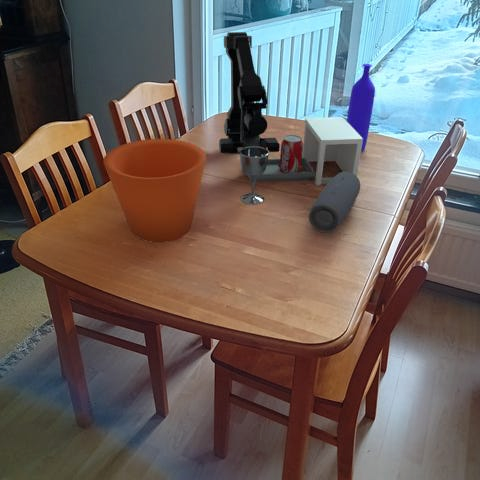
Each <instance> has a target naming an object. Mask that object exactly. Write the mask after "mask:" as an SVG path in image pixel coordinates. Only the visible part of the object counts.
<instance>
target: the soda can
mask: <svg viewBox="0 0 480 480" xmlns="http://www.w3.org/2000/svg"><path fill="white" fill-rule="evenodd" d="M303 142H304V141H303V138H302V137H301V136H299V135H295V134H288V135H284V137H283V140H282V141H281V143H280V144H281V145H280V155H279V159H280V167H279V169H280V171H281V173H295V172H301V170H302V166H301V163H302V153H303Z"/></svg>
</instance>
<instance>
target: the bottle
mask: <svg viewBox="0 0 480 480" xmlns="http://www.w3.org/2000/svg"><path fill="white" fill-rule="evenodd" d="M362 66H363V72H362V76H361V77H360V78H359V79H358V80H357V81H356V82H355V83H354V84H353V85H352V88H351V93H350V96H349V98H350V99H349V104H348V110H347V116H346V121H347V122H348V123H349V124H350V125H351V126H352V128H353V129H354V130H355V131H356V132H357V133H358V134H359V135H360V136H361V137H362V138H363V143H362V149H361V152H363V151H364V150H365V149H366V146H367V142H368V136H369V132H370V125H371V120H372V114H373V107H374V101H375V95H376V93H375V92H376V87H375V84H374V83H373V81H372V80H371V78H370V69H371V68H372V67H373V65H372V64H371V63H362Z"/></svg>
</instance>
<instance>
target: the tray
mask: <svg viewBox="0 0 480 480" xmlns="http://www.w3.org/2000/svg"><path fill="white" fill-rule="evenodd" d="M301 167H303V169H304V171H300V172H295V173H282V172H281V171H280V158H268V162H267V167H266V169H265V171H264V173H263V174H262V175H261V176H260V177H259V178H258V179H257V180H256V182H255V183H266V182H268V183H269V182H285V181H287V182H290V181H308V180H310V181H312V180H313V181H315V176H316V172H315V170H314V169H313V167H312V166H311V164H310V162H308V161H307V159H306V158H302V163H301Z"/></svg>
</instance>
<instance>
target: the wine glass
mask: <svg viewBox="0 0 480 480" xmlns="http://www.w3.org/2000/svg"><path fill="white" fill-rule="evenodd" d="M239 159H240V166H241V170H242V172H243V174H245V176H247V178H248V179H249V181H250V183H251V184H250V185H251V192H248V193H244V194H242V195H241V196H240V200H241V201H242V202H243V203H244V204H247V205H260V204H262V203H263V202H265V197H264V196H263V195H262V194H259V193H257V192H256V193H255V186H256V183H257V182H256V180H257V179H258V178H259V177H260V176H261V175H262V174H263V173H264V171H265V169H266V167H267V162H268V159H269V151H268V150H267V148H266V149H265V148H262V147H257V146H250V147H245V148H243V149H241V151H240V155H239Z"/></svg>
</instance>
